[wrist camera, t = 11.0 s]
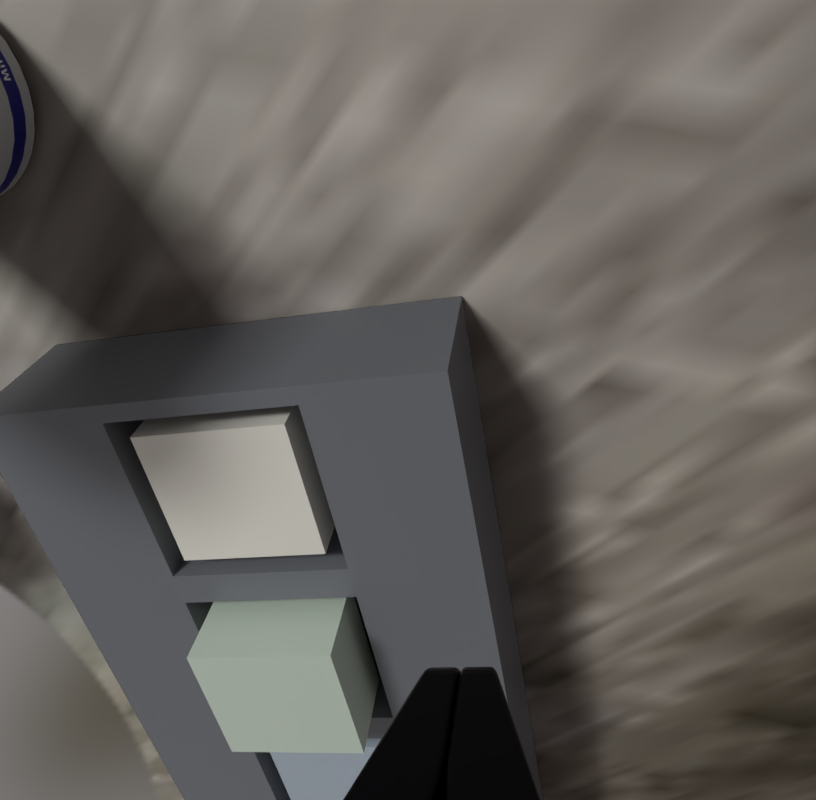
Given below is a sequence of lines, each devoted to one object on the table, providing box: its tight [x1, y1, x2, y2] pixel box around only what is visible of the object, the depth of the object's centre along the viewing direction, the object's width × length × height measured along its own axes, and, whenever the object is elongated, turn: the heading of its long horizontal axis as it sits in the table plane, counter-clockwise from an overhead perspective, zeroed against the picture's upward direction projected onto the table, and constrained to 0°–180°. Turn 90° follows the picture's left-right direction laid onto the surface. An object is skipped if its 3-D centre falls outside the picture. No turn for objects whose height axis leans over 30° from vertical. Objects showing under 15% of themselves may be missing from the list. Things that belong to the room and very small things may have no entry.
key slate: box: [270, 739, 381, 800], centre depth 26 cm, size 4×4×2 cm
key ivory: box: [130, 405, 335, 561], centre depth 20 cm, size 4×4×2 cm
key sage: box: [187, 597, 379, 753], centre depth 21 cm, size 4×4×2 cm
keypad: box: [0, 296, 543, 800], centre depth 25 cm, size 12×24×4 cm, turn 10°
